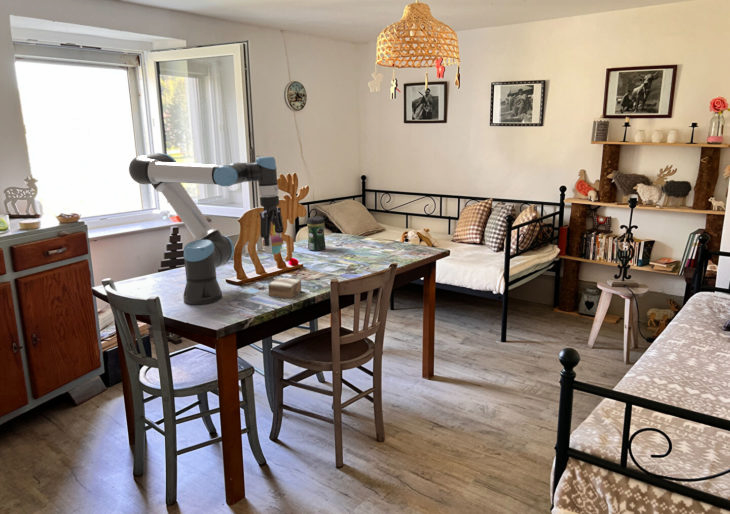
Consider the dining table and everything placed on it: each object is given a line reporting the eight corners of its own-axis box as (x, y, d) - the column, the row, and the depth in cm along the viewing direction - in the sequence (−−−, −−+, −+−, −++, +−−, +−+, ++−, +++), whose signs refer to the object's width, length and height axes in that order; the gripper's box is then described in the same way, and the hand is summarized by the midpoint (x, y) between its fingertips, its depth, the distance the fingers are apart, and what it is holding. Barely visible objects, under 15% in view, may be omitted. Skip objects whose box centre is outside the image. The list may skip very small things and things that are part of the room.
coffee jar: (318, 246, 311) (317, 214, 306) (327, 249, 305) (326, 216, 301) (305, 249, 304) (304, 217, 300) (314, 252, 299) (313, 218, 294)
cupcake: (270, 250, 229) (268, 222, 226) (288, 250, 226) (285, 222, 223) (259, 254, 221) (256, 225, 218) (277, 255, 218) (275, 226, 215)
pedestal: (291, 297, 221) (290, 286, 220) (269, 295, 224) (268, 284, 223) (301, 290, 231) (300, 279, 229) (279, 288, 234) (279, 277, 232)
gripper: (264, 199, 207) (270, 257, 213) (289, 192, 227) (293, 245, 232) (247, 199, 210) (253, 256, 215) (272, 192, 229) (277, 245, 234)
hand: (274, 250), depth 223 cm, fingers closed on cupcake, 8 cm apart
